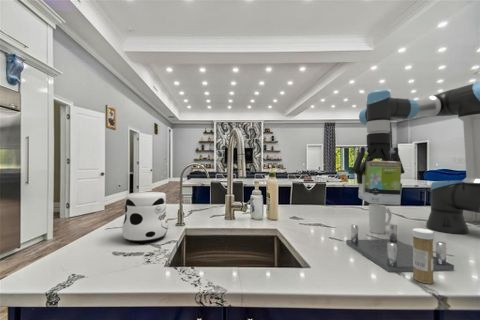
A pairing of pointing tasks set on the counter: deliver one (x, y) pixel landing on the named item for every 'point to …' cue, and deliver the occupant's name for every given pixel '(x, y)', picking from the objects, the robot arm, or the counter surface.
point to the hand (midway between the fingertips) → (377, 192)
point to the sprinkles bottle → (423, 255)
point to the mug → (378, 218)
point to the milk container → (145, 216)
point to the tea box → (382, 182)
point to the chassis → (395, 252)
